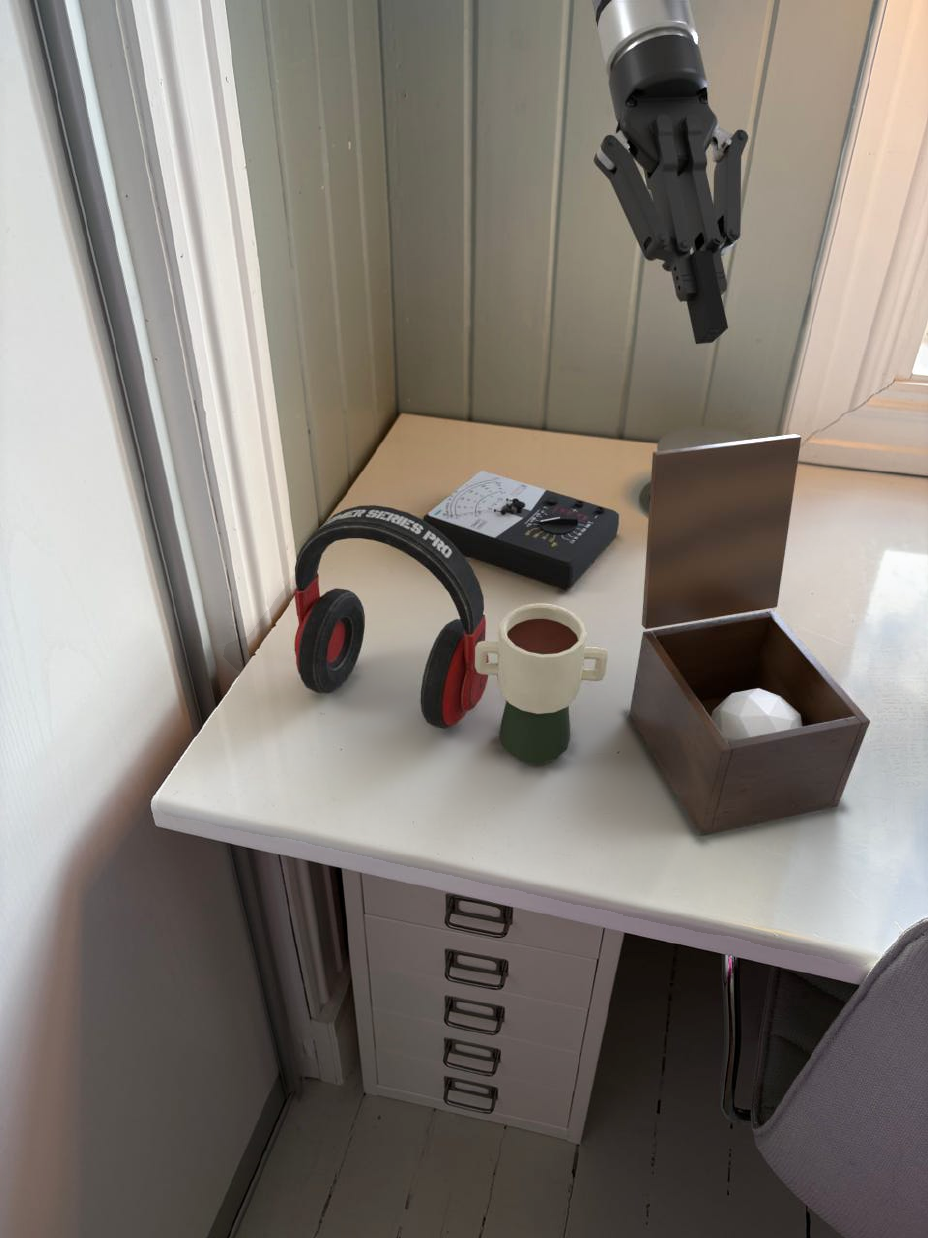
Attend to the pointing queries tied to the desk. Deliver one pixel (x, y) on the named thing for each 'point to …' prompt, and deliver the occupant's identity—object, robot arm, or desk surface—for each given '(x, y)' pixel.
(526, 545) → the multimeter
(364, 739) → the desk surface
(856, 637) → the desk surface
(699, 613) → the chest lid
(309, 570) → the headphones
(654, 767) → the desk surface
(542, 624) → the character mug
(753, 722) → the geometric ball
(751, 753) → the chest
